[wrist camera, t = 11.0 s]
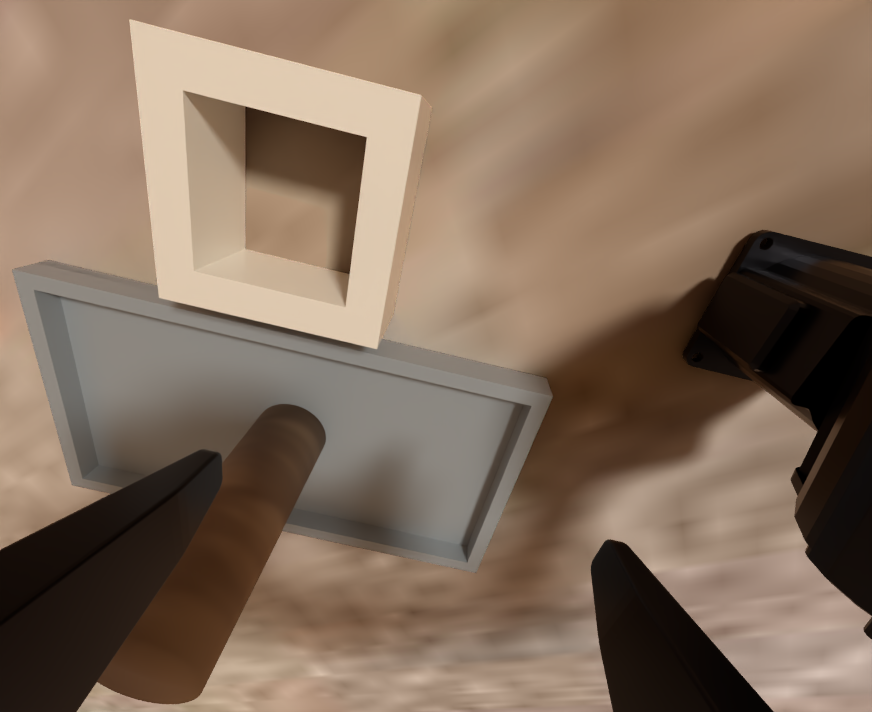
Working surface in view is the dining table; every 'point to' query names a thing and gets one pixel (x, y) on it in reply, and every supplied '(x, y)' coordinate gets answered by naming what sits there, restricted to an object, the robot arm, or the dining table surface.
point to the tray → (283, 384)
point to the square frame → (225, 183)
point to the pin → (219, 562)
